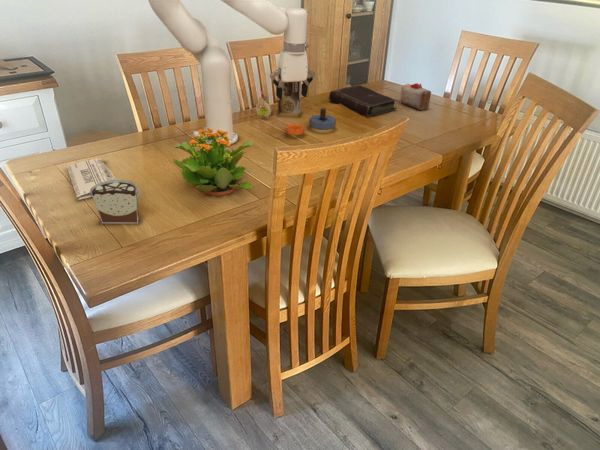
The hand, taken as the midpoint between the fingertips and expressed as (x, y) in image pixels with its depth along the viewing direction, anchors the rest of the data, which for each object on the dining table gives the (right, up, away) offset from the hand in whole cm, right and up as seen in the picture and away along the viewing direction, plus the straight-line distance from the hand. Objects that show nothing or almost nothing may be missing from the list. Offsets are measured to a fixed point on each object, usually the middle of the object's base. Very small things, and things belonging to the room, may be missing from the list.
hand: (291, 96), depth 170 cm
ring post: (+12, -9, +14) cm, 20 cm away
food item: (+54, +7, +41) cm, 69 cm away
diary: (+31, +7, +39) cm, 50 cm away
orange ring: (+1, -12, +8) cm, 15 cm away
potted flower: (-21, -36, -30) cm, 52 cm away
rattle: (-10, -2, +24) cm, 26 cm away
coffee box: (-1, 0, +27) cm, 27 cm away
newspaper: (-60, -33, -27) cm, 73 cm away
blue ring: (+12, -7, +13) cm, 19 cm away
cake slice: (-44, -44, -45) cm, 77 cm away
